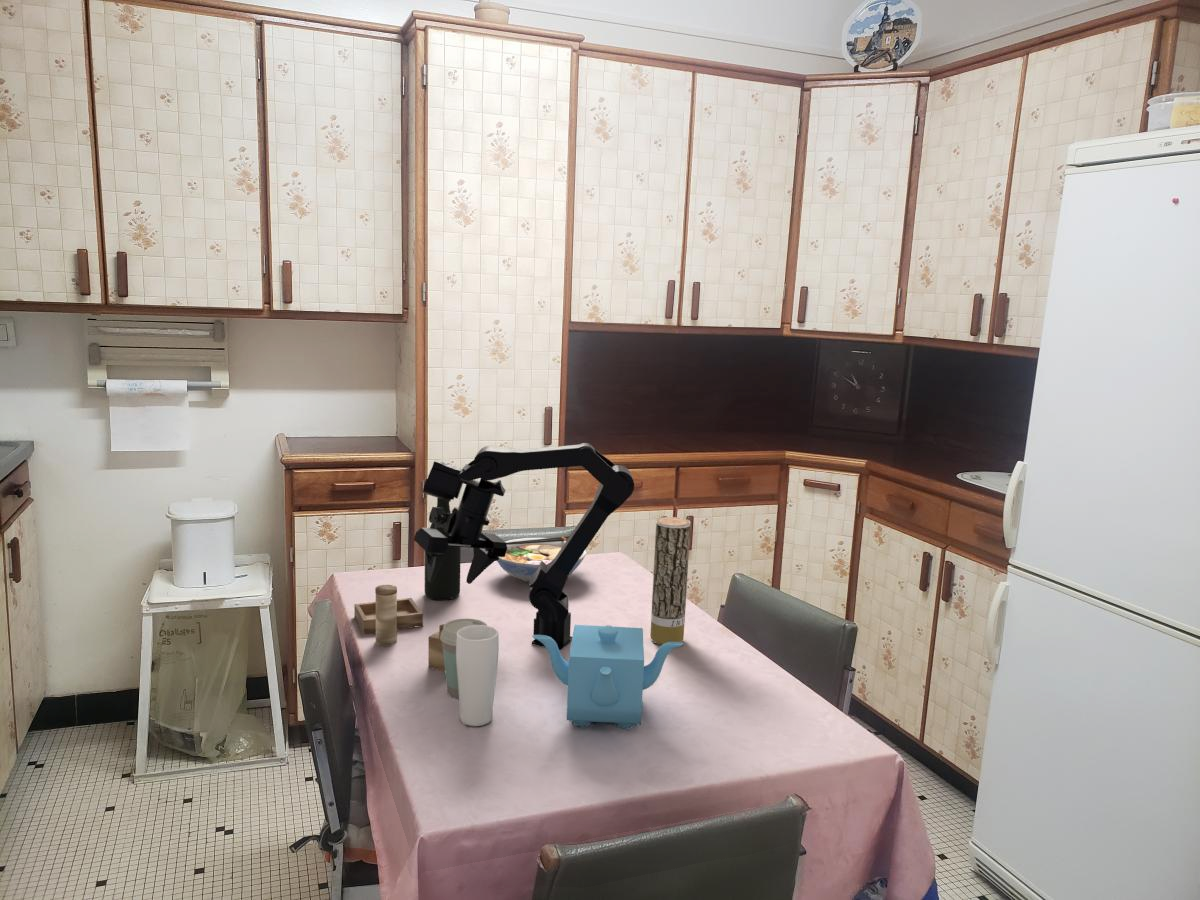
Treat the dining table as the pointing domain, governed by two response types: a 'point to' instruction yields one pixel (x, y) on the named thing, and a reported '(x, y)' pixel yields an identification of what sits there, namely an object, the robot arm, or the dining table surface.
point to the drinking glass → (476, 672)
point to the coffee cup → (453, 651)
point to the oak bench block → (436, 651)
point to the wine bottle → (445, 568)
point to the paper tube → (670, 579)
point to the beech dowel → (386, 615)
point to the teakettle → (606, 673)
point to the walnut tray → (406, 615)
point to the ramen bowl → (532, 555)
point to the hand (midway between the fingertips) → (449, 582)
